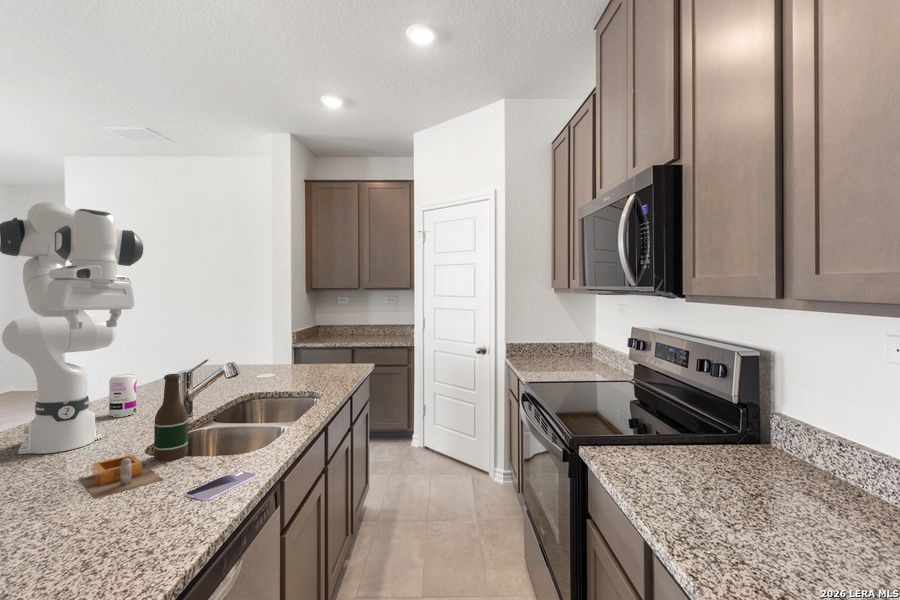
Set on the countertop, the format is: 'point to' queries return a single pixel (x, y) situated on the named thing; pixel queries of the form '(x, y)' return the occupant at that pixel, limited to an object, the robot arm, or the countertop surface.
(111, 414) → the supplement can
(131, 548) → the countertop surface
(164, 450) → the beer bottle
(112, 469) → the orange hollow square frame
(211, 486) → the mobile phone
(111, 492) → the board
